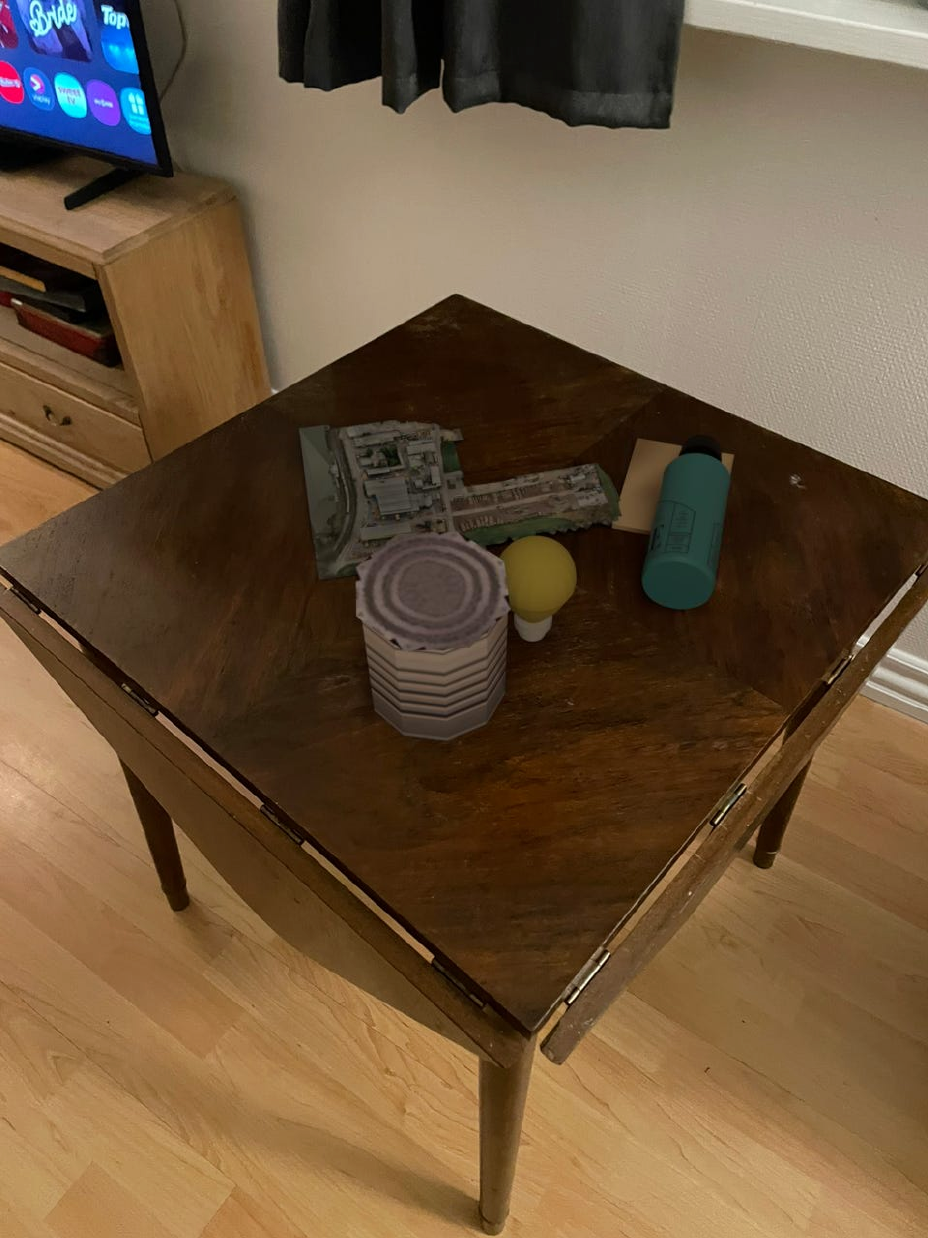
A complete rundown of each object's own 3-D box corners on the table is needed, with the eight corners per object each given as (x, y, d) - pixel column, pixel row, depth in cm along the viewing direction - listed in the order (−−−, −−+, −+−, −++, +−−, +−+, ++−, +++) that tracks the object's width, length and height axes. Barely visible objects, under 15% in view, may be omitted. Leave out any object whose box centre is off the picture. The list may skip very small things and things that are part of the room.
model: (635, 529, 88) (636, 516, 87) (319, 580, 85) (316, 567, 84) (574, 401, 102) (574, 389, 101) (301, 441, 99) (299, 428, 98)
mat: (733, 459, 96) (734, 454, 96) (716, 548, 87) (717, 543, 87) (636, 442, 98) (637, 437, 98) (611, 528, 89) (611, 523, 89)
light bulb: (515, 671, 77) (519, 587, 70) (480, 618, 82) (480, 533, 74) (585, 644, 79) (596, 560, 72) (547, 594, 83) (553, 509, 76)
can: (493, 626, 81) (494, 522, 72) (519, 731, 73) (524, 630, 64) (362, 643, 80) (347, 539, 71) (374, 751, 72) (360, 651, 63)
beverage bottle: (730, 606, 77) (752, 454, 90) (676, 559, 75) (706, 409, 87) (670, 633, 82) (699, 485, 94) (618, 590, 80) (654, 444, 92)
